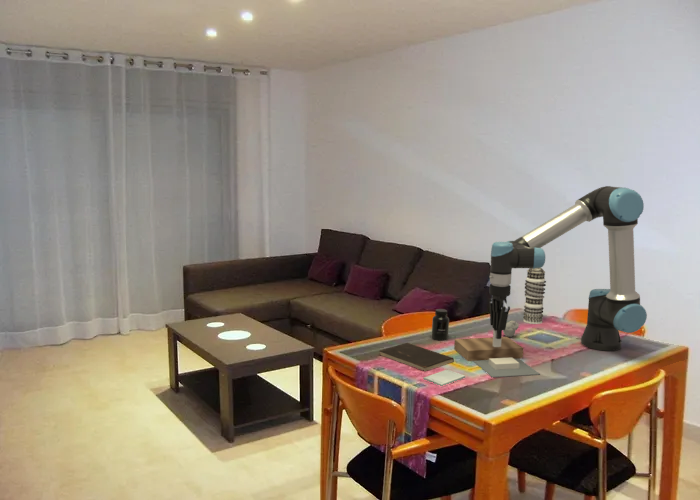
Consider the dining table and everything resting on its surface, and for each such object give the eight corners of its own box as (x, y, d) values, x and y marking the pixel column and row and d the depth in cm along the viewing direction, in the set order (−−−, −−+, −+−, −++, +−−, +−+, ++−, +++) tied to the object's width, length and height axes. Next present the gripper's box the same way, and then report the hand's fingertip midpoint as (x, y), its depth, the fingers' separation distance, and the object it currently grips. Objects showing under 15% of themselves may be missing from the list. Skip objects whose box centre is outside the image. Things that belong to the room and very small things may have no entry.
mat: (519, 359, 228) (519, 358, 228) (540, 374, 213) (540, 373, 213) (473, 361, 225) (473, 361, 225) (491, 377, 209) (491, 376, 209)
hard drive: (446, 368, 214) (423, 376, 206) (465, 375, 208) (441, 384, 200) (446, 373, 214) (422, 381, 206) (465, 380, 208) (441, 388, 200)
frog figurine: (518, 339, 252) (519, 323, 251) (500, 338, 254) (501, 321, 253) (518, 335, 258) (519, 319, 257) (501, 333, 260) (502, 318, 259)
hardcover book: (424, 373, 214) (425, 367, 214) (379, 356, 231) (379, 350, 230) (453, 363, 224) (454, 357, 224) (407, 347, 241) (408, 342, 241)
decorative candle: (544, 325, 274) (547, 270, 270) (522, 323, 276) (526, 269, 272) (542, 319, 283) (546, 266, 279) (522, 318, 285) (525, 265, 281)
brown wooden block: (506, 346, 243) (507, 336, 242) (522, 358, 229) (523, 347, 229) (454, 348, 239) (454, 339, 238) (467, 361, 225) (468, 350, 225)
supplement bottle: (440, 341, 247) (441, 313, 246) (428, 337, 253) (429, 309, 251) (451, 338, 252) (452, 310, 250) (439, 334, 257) (440, 307, 255)
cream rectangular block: (519, 363, 217) (519, 368, 218) (512, 357, 223) (511, 362, 224) (495, 364, 216) (495, 369, 216) (488, 358, 222) (488, 363, 222)
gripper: (483, 280, 228) (480, 341, 232) (498, 288, 215) (495, 352, 219) (501, 280, 230) (498, 340, 233) (518, 287, 217) (514, 351, 221)
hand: (496, 346), depth 226 cm, fingers closed
